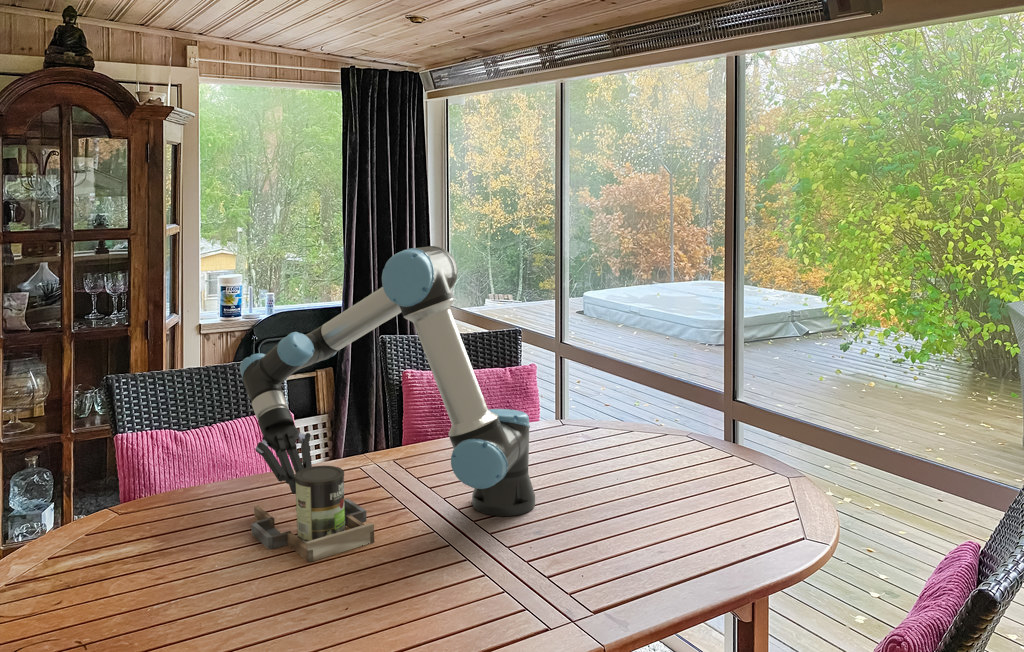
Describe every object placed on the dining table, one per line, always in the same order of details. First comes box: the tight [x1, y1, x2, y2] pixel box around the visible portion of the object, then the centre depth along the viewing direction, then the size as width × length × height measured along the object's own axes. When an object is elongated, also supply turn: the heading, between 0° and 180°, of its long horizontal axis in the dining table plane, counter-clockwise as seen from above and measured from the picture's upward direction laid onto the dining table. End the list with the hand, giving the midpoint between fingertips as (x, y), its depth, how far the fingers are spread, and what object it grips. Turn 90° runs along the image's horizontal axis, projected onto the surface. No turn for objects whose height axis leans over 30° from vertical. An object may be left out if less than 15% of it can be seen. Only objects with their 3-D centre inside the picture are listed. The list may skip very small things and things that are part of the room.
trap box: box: [250, 497, 375, 563], centre depth 171 cm, size 28×23×4 cm
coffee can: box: [294, 465, 346, 543], centre depth 167 cm, size 10×10×14 cm
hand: (306, 504), depth 172 cm, fingers closed
